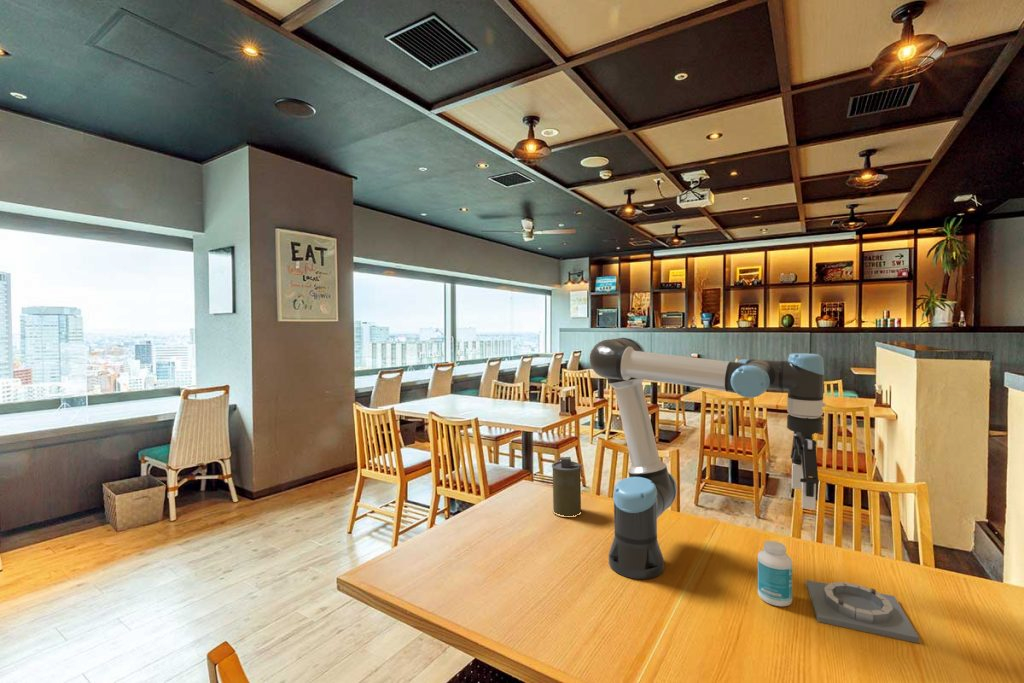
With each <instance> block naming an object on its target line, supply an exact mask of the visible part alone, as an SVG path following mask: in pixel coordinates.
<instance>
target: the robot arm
mask: <svg viewBox="0 0 1024 683" xmlns="http://www.w3.org/2000/svg"><path fill="white" fill-rule="evenodd" d="M589 364H590V367H591V368H592V371H593V372H594V373H595V374H596V375H598V376H599V377H601V378H604V379H606V381H607V384H608V385H609V387H612V388H613V389H614V393H615V398H616V402H617V406H618V411H619V416H620V420H621V424H622V428H623V433H624V437H625V442H626V445H627V449H628V454H629V459H630V463H631V465H630V466H629V468H628V470H627V472H628V478H627V477H624V478H622V479H620V480H619V481H617V482H616V484H615V485H614V488H613V512H614V513H613V514H614V515H613V516H614V518H613V520H614V536H613V540H612V543H611V546H610V548H609V552H608V565H609V567H610V568H611V569H612V570H613V571H614V572H615V573H616V574H619V575H620V576H623V577H626V578H630V579H636V580H650V579H654V578H657V577H659V576H661V575H662V573H663V572H664V569H665V559H664V556H663V554H662V550H661V548H660V544H659V542H658V518H659V517H660V516H661V515H662V514H663V513H664V512H665V511H667V510H668V508H670V507H671V506H672V504H673V503H674V502H675V499H676V497H677V492H678V487H677V486H678V485H677V482H676V480H675V478H674V476H673V475H672V474H671V473H670V472H669V471H668V467H667V464H666V463H664V462H663V461H661V459H660V456H659V451H658V447H657V443H656V438H655V434H654V430H653V425H652V421H651V416H650V413H649V409H648V405H647V404H648V403H647V401H646V396H645V392H644V387H643V382H644V381H645V380H647V381H651V382H652V381H653V382H659V383H667V384H673V385H680V386H687V387H693V388H694V387H695V388H702V389H706V390H707V389H708V390H715V391H721V392H722V391H723V392H728V393H731V394H737V395H738V396H741V397H743V398H747V399H749V398H750V399H751V398H756V397H757V398H758V397H759V396H761V395H763V394H764V393H765V392H766V391H767V390H777V391H779V390H780V391H787V396H786V397H787V401H786V402H787V403H786V404H787V405H786V408H787V409H786V410H787V413H788V415H786V418H787V420H786V427H787V429H788V430H789V431H791V432H793V436H792V443H791V444H792V445H791V451H790V458H791V462H792V463H791V489H792V490H793V489H795V490H801V508H802V509H806V510H811V511H816V504H817V502H816V499H817V498H816V496H817V492H816V491H817V484H819V483H820V481H819V472H818V458H817V441H816V440H815V439H814V438H813V435H815V434H816V435H817V434H821V433H822V432H823V423H824V422H823V421H824V419H823V417H821V416H823V413H824V409H823V408H825V407H826V405H827V404H826V403H825V402H824V391H825V390H824V387H825V386H824V385H825V366H824V365H825V363H824V357H823V356H822V355H820V354H817V353H806V352H805V353H804V352H803V353H799V352H793V353H789V355H788V358H787V360H770V359H769V360H767V359H754V358H749V359H747V358H746V359H744V358H743V359H742V358H741V359H739V360H737V362H736V361H727V360H719V359H708V358H702V357H700V358H699V357H691V356H684V355H683V356H682V355H676V354H675V355H674V354H667V353H657V352H648V351H645V349H644V347H643V346H642V345H641V344H640V342H638V341H637V340H635V339H632V338H630V337H629V338H628V337H618V338H611V339H609V338H608V339H604V340H601V341H599V342H598V343H597V344H595V345H594V346H593V348H592V349H591V350H590V353H589Z"/></svg>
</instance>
